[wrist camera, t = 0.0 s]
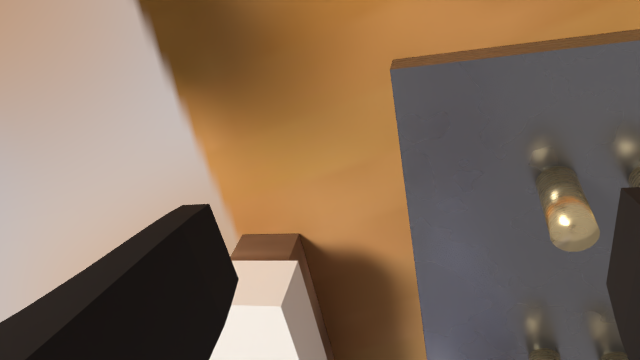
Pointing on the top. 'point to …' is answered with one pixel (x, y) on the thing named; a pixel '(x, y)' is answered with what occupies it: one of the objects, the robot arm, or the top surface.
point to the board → (269, 316)
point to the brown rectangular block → (283, 250)
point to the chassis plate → (519, 193)
